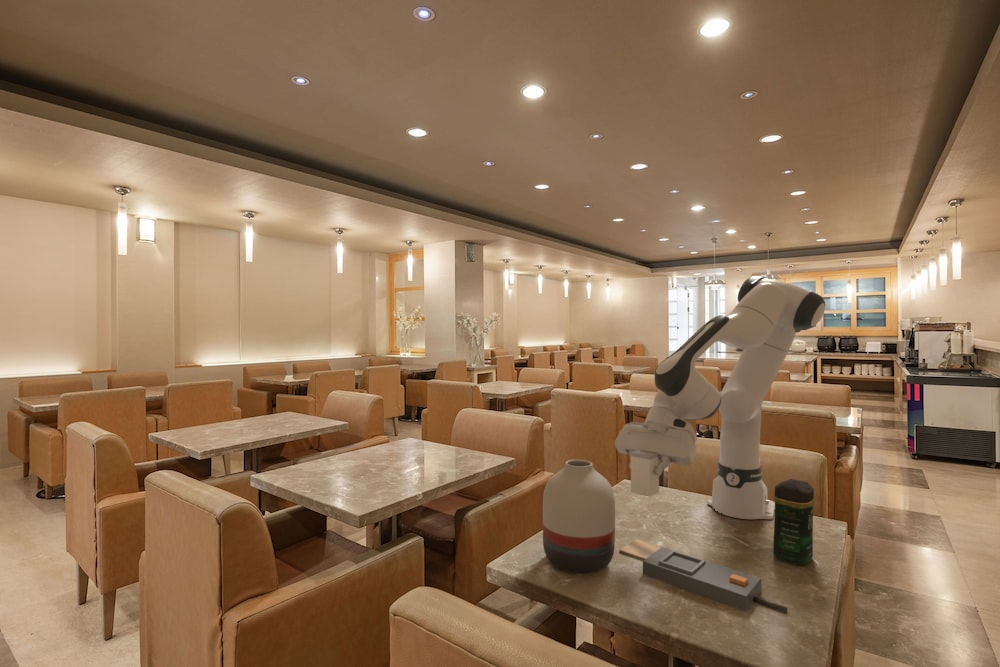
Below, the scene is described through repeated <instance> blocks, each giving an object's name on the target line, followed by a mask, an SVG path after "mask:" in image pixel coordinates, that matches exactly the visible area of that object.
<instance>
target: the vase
mask: <svg viewBox="0 0 1000 667" xmlns="http://www.w3.org/2000/svg"><path fill="white" fill-rule="evenodd" d="M542 496H543V498H542V544H543V551H544V553H545V556H546V558H547V561H549V563H550V564H552V565H553V566H554V567H556V568H557V569H559V570H562V571H565V572H567V573H572V574H581V575H582V574H583V575H585V574H594V573H597V572H600V571H602V570H604V569H605V568H606V567H608V566H609V564H610V563H611V561H612V559H613V556H614V553H615V545H616V544H615V543H616V542H615V541H616V499H615V498H616V497H615V493H614V490H613V487H612V485H611V483H610V482H609V481H608V480H607V479H606V478H605V476H603V475H602V474H601V473H599V472H598V471H597V470H596V469H595V468H594V465H593V463H592V462H591V461H589V460H584V459H571V460H570V459H569V460H566V462H565V464H564V467H563V468H562V469H560V470H558V471H557V472H556V473H554V474H553V475H552V476H551V477H550V478H549V479H548V481H547V482H546V484H545V487H544V490H543V495H542Z"/></svg>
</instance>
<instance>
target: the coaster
mask: <svg viewBox="0 0 1000 667" xmlns="http://www.w3.org/2000/svg"><path fill="white" fill-rule="evenodd" d="M662 547H663V548H665V547H664V546H661V545H658V544H654V543H651V542H649V541H645V540H642V539H638V538H636V539H634V540H633V541H631V542H630V543H627V544H626V545H624V546H622V547H621V548H619V553H620V554H624V555H626V556H629V557H633V558H635V559H638V560H641V561H643V560H645V559H646V558H648V557H649V556H650V555H652V554H653V553H655V552H656V551H657V550H659V549H660V548H662ZM666 548H667V547H666ZM667 549H669V548H667Z"/></svg>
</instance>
